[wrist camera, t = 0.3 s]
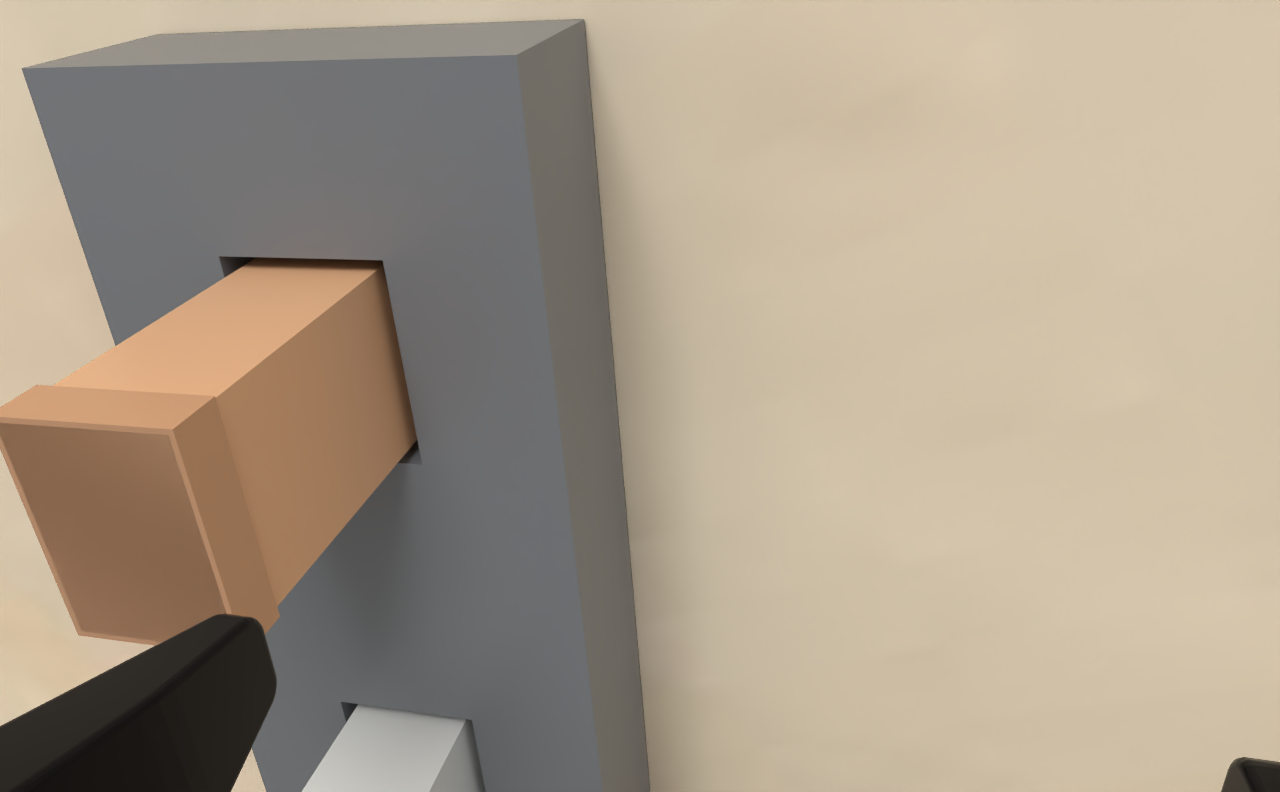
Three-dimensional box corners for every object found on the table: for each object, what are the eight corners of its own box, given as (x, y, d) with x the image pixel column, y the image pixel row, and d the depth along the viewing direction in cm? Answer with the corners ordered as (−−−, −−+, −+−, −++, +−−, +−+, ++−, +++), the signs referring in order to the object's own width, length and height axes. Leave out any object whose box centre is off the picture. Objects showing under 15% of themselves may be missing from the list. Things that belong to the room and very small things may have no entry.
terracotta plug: (478, 375, 25) (246, 657, 16) (360, 368, 25) (78, 635, 17) (452, 208, 23) (172, 429, 14) (324, 207, 23) (-14, 415, 15)
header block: (653, 833, 31) (621, 954, 28) (362, 786, 34) (300, 892, 30) (584, 18, 20) (516, 55, 17) (157, 34, 23) (21, 68, 19)
